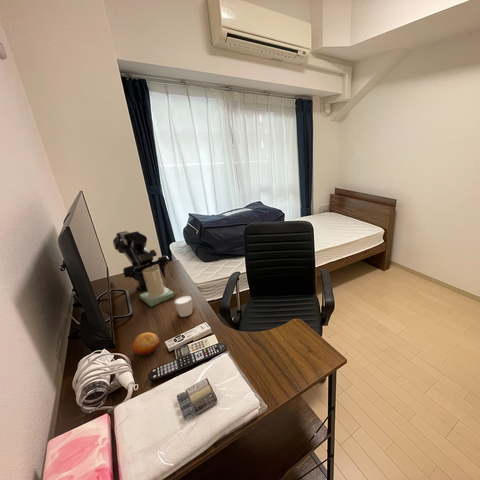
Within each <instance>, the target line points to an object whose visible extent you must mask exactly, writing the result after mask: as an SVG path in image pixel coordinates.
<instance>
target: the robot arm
mask: <svg viewBox="0 0 480 480" xmlns="http://www.w3.org/2000/svg"><path fill="white" fill-rule="evenodd" d="M115 235H116V236H115V237H114V238H113V240H112V244H113V248H114V250H115V251H116V252H118V253H119V254H124V256H125V257H126V258H127V260H128V261H129V263H130V264H131V265H128V266H126V267H123V270H122V273H123V276H124V278H129V279H131V278H132V279H133V280H135V281H137V283H138V285H137V288H138V289H139V290H141V291H145V290H147V287H146V284H145V280H144V277H143V273H142V271H143V270H144V269H146V268H149V267H155V266H157V265H158V267H159V270H160V274H161V276H162V277H163V278H166V269H165V268H166V266H167V265H168V264H169V261H170V258H169V257H168V256H167V255H162V256H159V257H158V258H157V260H154V257H157V256H158V254H157V251H156V250H155V249H151V250H149V251H147V248H146V247H147V242H148V238H147V236H146V235H145V234H143V233H142V232H140V231H139V230H137V231H132V232H130V231H126V230H123V231H119V232H117V233H116V234H115Z"/></svg>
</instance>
